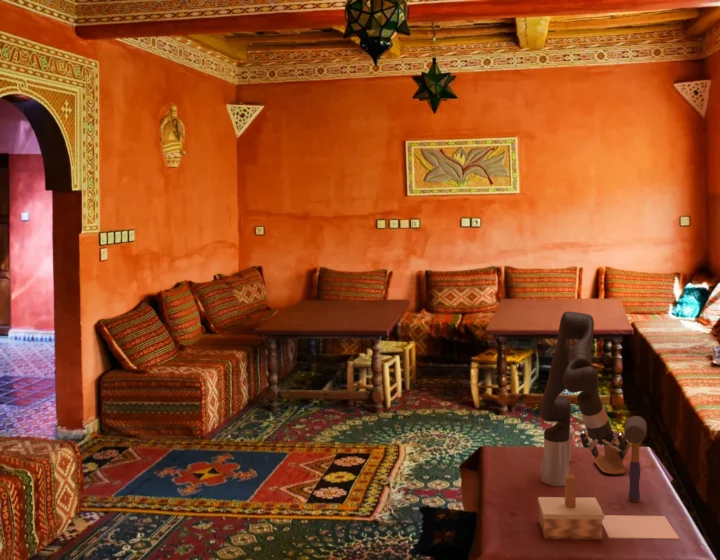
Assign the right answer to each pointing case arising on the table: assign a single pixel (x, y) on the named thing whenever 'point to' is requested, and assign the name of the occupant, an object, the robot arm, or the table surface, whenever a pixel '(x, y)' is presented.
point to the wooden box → (571, 528)
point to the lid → (570, 504)
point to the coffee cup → (569, 439)
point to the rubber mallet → (635, 452)
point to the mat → (638, 527)
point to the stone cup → (611, 460)
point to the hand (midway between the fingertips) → (609, 456)
